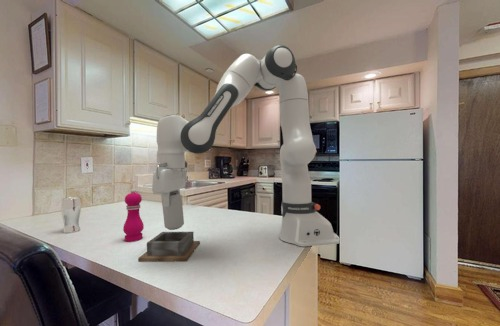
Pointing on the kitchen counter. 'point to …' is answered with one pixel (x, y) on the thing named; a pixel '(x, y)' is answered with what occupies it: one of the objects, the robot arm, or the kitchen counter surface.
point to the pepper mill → (133, 217)
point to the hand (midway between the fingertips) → (171, 204)
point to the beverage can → (173, 212)
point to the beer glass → (71, 214)
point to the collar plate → (170, 247)
